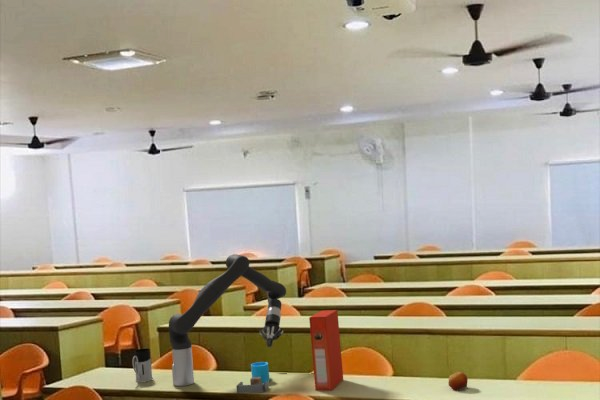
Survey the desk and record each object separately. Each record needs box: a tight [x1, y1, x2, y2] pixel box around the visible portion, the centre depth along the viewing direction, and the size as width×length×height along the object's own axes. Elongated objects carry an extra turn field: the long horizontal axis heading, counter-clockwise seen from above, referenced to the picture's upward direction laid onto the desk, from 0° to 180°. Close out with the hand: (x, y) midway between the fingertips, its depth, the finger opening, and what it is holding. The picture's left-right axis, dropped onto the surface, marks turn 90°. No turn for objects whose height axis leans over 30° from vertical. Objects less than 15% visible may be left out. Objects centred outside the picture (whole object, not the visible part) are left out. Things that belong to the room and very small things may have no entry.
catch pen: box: [235, 381, 270, 393], centre depth 292 cm, size 13×6×3 cm, turn 79°
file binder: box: [308, 309, 344, 391], centre depth 291 cm, size 8×17×32 cm, turn 160°
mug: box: [250, 361, 270, 384], centre depth 308 cm, size 12×8×8 cm
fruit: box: [448, 371, 469, 391], centre depth 270 cm, size 8×8×8 cm
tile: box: [249, 376, 262, 385], centre depth 297 cm, size 4×4×4 cm
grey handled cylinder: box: [131, 348, 154, 383], centre depth 323 cm, size 9×14×15 cm, turn 166°
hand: (269, 346), depth 326 cm, fingers closed
